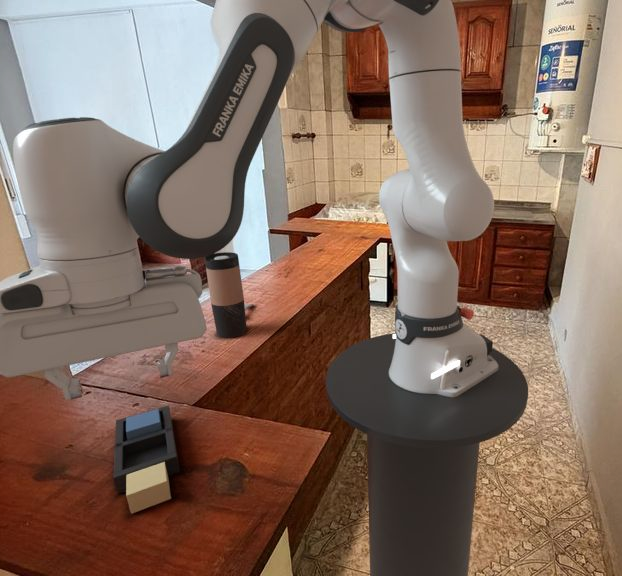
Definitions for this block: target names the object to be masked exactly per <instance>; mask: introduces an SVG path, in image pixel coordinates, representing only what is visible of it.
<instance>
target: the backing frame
mask: <svg viewBox="0 0 622 576" xmlns="http://www.w3.org/2000/svg"><path fill="white" fill-rule="evenodd" d="M156 409H159V413H160V418H161V422H162V429H163V430H160V431H157V432H154V433H151V434H147V435H144V436H141V437H138V438H134V439H131V440H128V438H127V434H126V418H127V417H131V416H134V415H135V414H133V415H130V416H126V417H122V418H119V419H116V420H115V436H114V455H113V456H114V458H113V482H114V485H115V489H116V492H117V495H120V494H123V493H126V475H127V474H130V473H133V472H136V471H139V470H142V469H145V468H148V467H151V466H154V465H157V464H159V463H162V462H165V465H166V470H167V474H168V477H170V476H173V475H175V474H179V473H180V472H181V470H180V462H179V458H178V456H179V455H178V451H177V445H176V444H177V443H176V439H175V432H174V426H173V420H172V415H171V410H170V406H169V405H165V406H161V407H158V408H154V409H151V410H147V411H144V412H143V413H145V412H149V411H152V410H156ZM141 413H142V412H141ZM141 413H136V415H138V414H141Z"/></svg>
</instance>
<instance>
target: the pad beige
mask: <svg viewBox="0 0 622 576" xmlns="http://www.w3.org/2000/svg"><path fill="white" fill-rule="evenodd" d="M125 497H126V500H127V504H128V508H129V511H130V514H131V515H132V514H135V513H138V512H140V511H143V510H146V509H147V508H150V507H153V506H156V505H158V504H161V503H163V502H166V501H169V500H171V499H172V495H171V488H170V480H169V476H168V474H167V470H166V465H165V462H162V463H159V464H157V465H154V466H151V467H148V468H145V469H142V470H139V471H136V472H133V473H130V474H127V475H126V492H125Z"/></svg>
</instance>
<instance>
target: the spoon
mask: <svg viewBox="0 0 622 576" xmlns="http://www.w3.org/2000/svg"><path fill="white" fill-rule="evenodd" d="M244 305H245V311H246V310H247V309H249V308H251V307H254V303H247V304H244Z"/></svg>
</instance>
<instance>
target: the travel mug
mask: <svg viewBox="0 0 622 576" xmlns="http://www.w3.org/2000/svg"><path fill="white" fill-rule="evenodd" d="M204 264H205V269H206V277H207V282H208V292H209V297H210V298H209V299H210V304H211V305H210V306H211V311H212V316H213V321H214V325H215V331H216V335H217V337H219V338H222V339H232V338H237V337H241V336H243V335H244V334H246V333H247V330H248V329H247V318H246V310H245V305H246V304H245V296H244V288H243V282H242V273H241V267H240V259H239V254H238V253H236V252H228V251H226V252H225V251H224V252H223V251H222V252H216V253H214V254H212V255H209V256H206V257H204Z"/></svg>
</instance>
